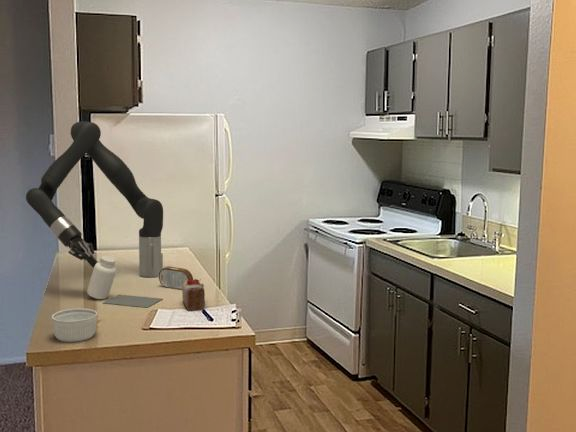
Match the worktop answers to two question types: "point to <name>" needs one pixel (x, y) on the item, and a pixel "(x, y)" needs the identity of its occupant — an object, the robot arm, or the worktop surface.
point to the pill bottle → (102, 278)
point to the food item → (193, 295)
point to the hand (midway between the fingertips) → (95, 265)
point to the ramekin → (74, 324)
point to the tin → (174, 277)
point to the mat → (133, 301)
